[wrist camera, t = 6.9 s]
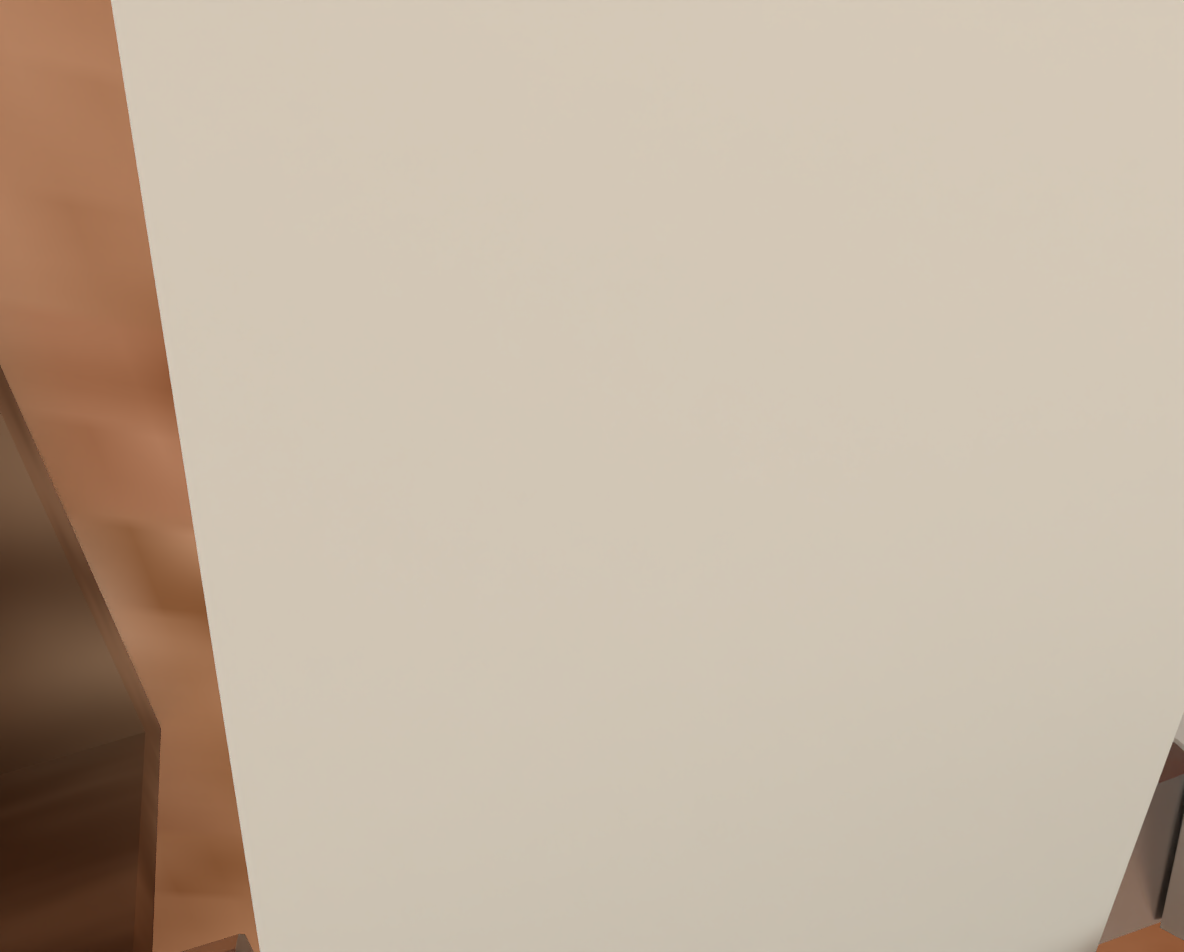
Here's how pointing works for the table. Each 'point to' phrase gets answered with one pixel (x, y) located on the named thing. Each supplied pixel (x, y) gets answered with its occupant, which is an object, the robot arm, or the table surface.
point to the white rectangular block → (678, 459)
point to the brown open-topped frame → (67, 733)
